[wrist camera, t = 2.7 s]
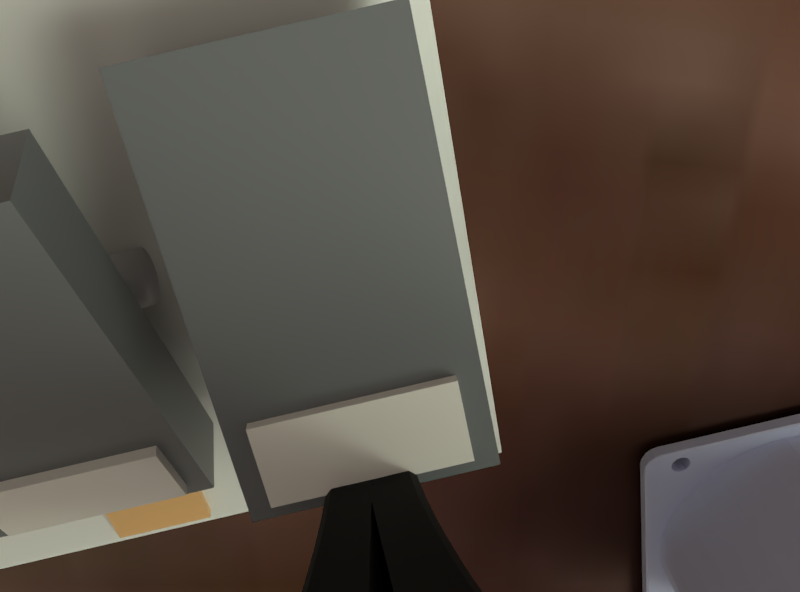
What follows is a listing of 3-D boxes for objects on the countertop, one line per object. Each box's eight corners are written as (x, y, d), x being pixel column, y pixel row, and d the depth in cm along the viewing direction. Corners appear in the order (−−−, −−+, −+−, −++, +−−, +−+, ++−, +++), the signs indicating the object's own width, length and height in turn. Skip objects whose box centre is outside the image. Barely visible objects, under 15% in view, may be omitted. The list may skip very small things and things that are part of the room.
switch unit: (369, -251, 12) (396, -271, 9) (477, 381, 19) (513, 485, 16) (-579, -35, 12) (-867, 16, 9) (-112, 518, 19) (-185, 648, 16)
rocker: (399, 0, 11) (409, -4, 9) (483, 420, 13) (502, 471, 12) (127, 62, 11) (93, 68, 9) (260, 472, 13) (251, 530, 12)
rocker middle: (28, 128, 10) (6, 212, 8) (213, 423, 15) (213, 497, 14) (-285, 201, 9) (-348, 294, 8) (11, 469, 15) (-4, 548, 14)
